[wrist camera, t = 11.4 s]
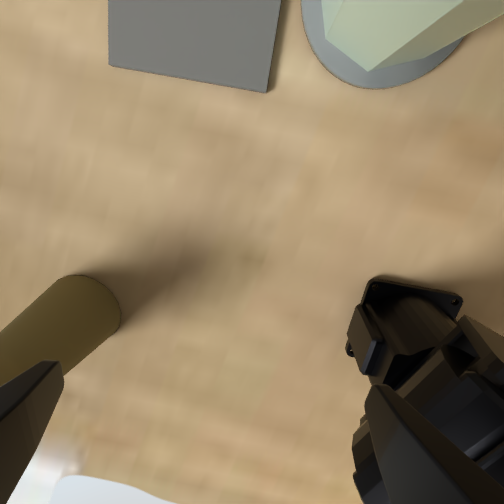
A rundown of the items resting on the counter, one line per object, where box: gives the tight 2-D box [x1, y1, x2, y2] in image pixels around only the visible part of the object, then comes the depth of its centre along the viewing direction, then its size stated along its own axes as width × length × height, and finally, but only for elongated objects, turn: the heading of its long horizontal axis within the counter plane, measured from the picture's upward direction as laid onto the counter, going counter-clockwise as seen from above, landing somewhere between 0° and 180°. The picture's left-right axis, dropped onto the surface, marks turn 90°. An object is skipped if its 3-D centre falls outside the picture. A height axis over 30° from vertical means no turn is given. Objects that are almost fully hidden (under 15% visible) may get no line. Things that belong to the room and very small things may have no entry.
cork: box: [0, 275, 121, 386], centre depth 19 cm, size 6×6×11 cm
